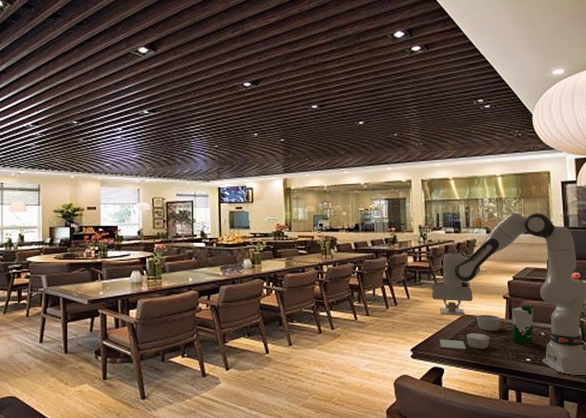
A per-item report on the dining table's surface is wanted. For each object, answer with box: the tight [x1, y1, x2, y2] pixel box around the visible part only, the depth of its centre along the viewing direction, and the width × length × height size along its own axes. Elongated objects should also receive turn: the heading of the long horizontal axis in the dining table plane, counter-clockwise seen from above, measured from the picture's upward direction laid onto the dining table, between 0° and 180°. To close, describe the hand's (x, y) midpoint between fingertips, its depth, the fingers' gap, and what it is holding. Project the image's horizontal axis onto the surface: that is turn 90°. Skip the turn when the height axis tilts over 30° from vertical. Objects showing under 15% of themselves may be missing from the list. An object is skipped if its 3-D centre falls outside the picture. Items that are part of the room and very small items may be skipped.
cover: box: [439, 301, 466, 317], centre depth 226 cm, size 12×12×5 cm
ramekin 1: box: [476, 314, 502, 332], centre depth 256 cm, size 13×13×7 cm
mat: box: [439, 339, 467, 350], centre depth 225 cm, size 13×12×1 cm
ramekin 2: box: [466, 332, 491, 350], centre depth 223 cm, size 11×11×5 cm
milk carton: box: [511, 305, 534, 346], centre depth 229 cm, size 9×9×20 cm
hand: (452, 308), depth 226 cm, fingers closed on cover, 4 cm apart
